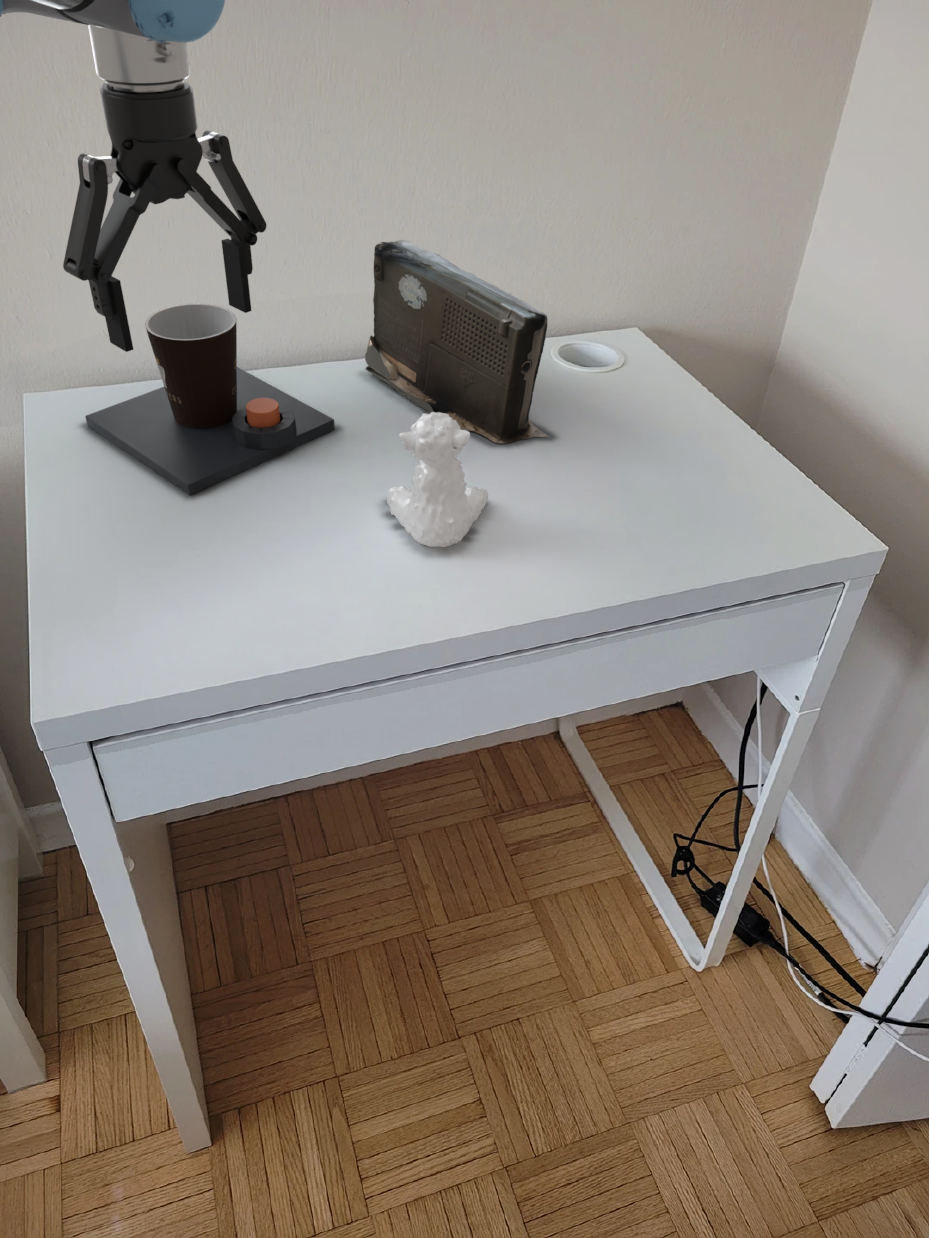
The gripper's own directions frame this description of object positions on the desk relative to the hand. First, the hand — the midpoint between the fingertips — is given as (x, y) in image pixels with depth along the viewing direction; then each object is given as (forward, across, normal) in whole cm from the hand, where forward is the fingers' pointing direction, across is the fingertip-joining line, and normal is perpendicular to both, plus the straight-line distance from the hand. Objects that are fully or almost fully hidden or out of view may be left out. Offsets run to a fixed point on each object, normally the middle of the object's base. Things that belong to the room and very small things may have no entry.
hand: (183, 326), depth 93 cm
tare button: (+8, +2, -9) cm, 12 cm away
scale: (+10, 0, -2) cm, 11 cm away
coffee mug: (+9, +2, 0) cm, 10 cm away
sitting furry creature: (+11, +4, -31) cm, 33 cm away
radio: (+10, +23, -15) cm, 30 cm away
